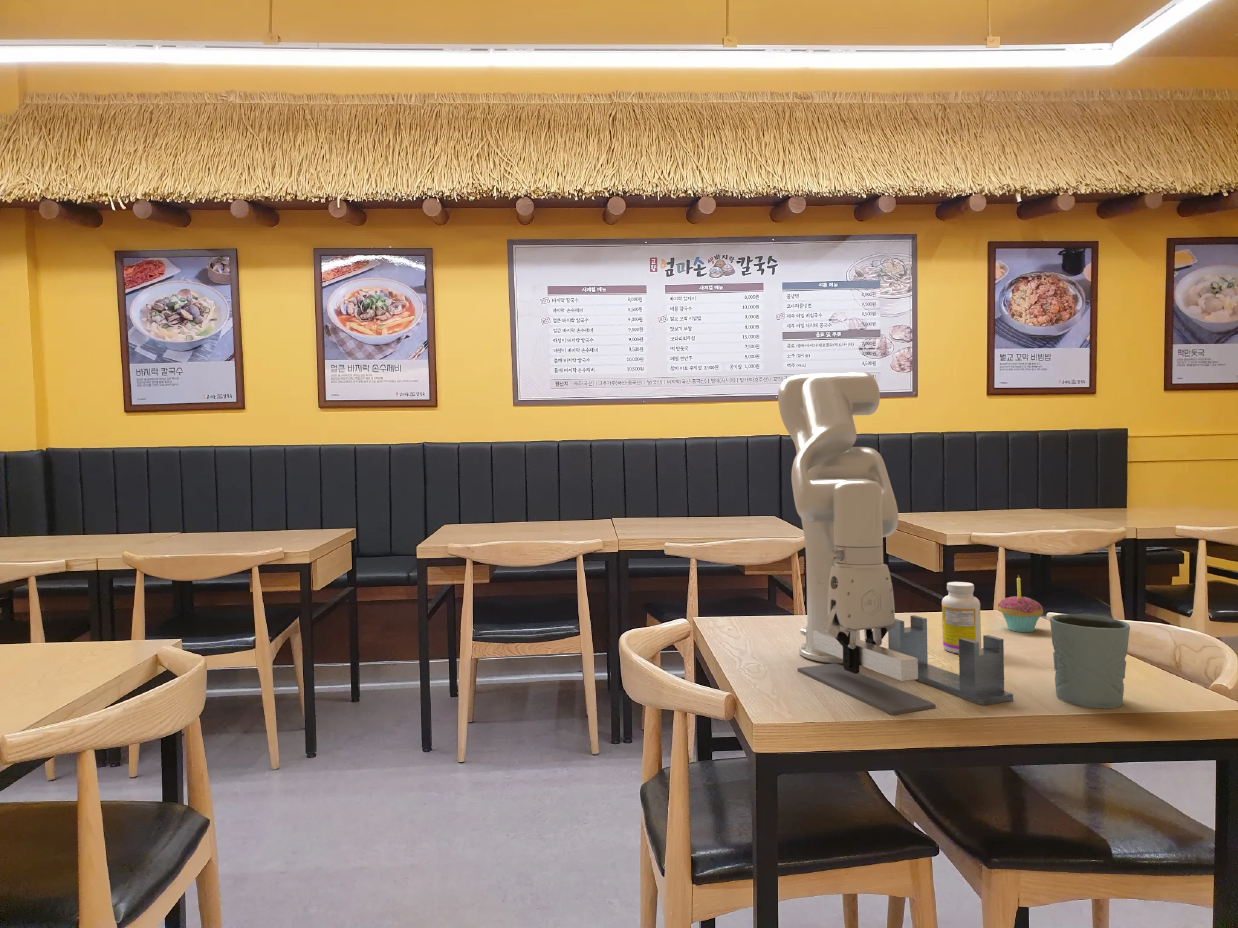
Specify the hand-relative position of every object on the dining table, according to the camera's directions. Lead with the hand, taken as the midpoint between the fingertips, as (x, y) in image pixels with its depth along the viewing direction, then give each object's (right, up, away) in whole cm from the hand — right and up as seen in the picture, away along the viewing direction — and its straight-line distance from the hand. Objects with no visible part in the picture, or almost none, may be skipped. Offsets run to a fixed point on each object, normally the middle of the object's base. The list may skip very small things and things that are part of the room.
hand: (861, 669), depth 118 cm
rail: (0, +1, 0) cm, 1 cm away
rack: (+14, -3, +2) cm, 15 cm away
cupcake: (+46, -2, +37) cm, 60 cm away
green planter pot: (+33, -3, -7) cm, 33 cm away
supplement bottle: (+26, -3, +22) cm, 34 cm away
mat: (0, -3, 0) cm, 3 cm away
